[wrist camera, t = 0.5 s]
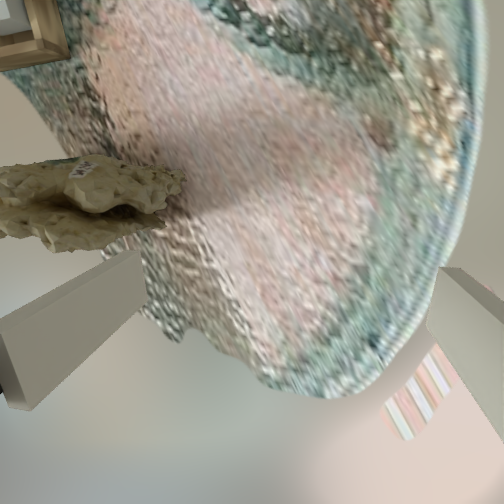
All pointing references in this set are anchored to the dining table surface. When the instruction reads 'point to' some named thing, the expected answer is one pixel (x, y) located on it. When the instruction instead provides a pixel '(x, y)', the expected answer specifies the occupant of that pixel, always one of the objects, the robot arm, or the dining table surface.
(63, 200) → the coral
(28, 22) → the key bluegrey
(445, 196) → the dining table surface
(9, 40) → the wooden compartment tray
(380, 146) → the dining table surface
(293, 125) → the dining table surface
